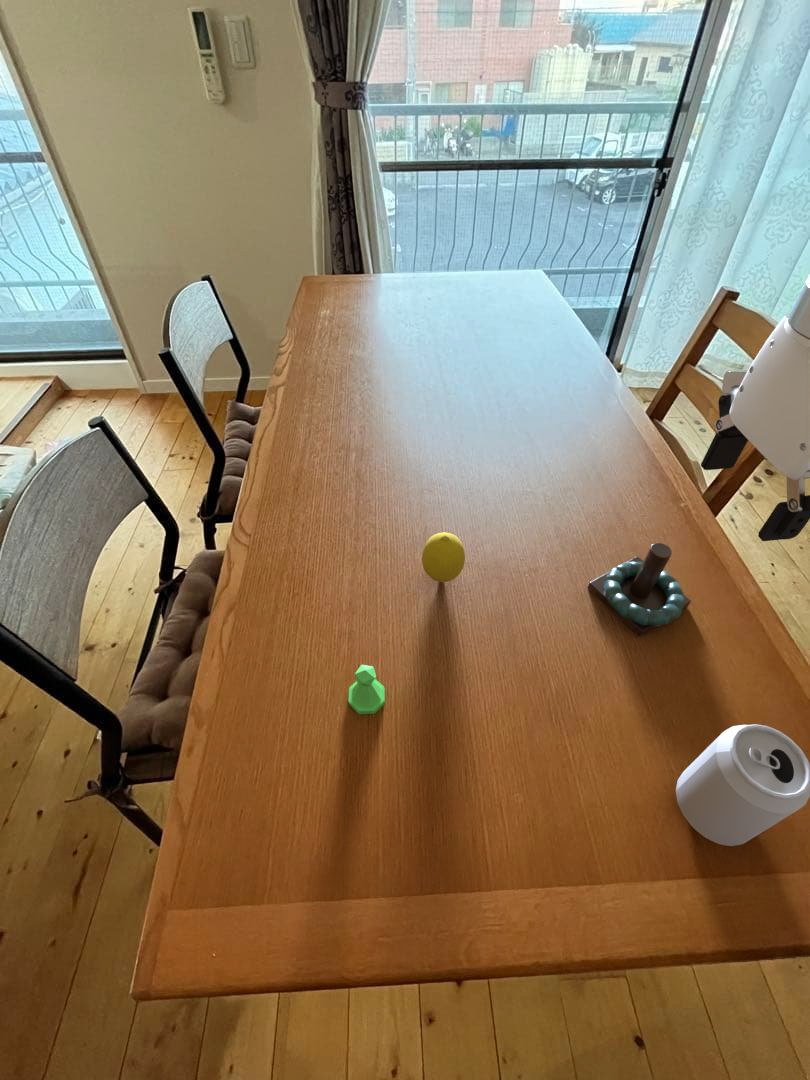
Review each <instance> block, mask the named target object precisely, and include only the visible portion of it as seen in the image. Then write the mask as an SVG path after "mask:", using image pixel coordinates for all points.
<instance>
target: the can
mask: <svg viewBox="0 0 810 1080" xmlns="http://www.w3.org/2000/svg"><path fill="white" fill-rule="evenodd" d="M809 761H810V760H809V759H808V758H807V756H806V754H805V753H804V751H803V750H802V749H801V748H800V746H798V745H797V743H795V742H794V741H793V739H792V738H790V737H789V736H787V735H786V734H784V733H783V732H781V731H780V730H777V729H775V728H773V727H770V726H768V725H763V724H762V725H761V724H756V723H754V724H740V725H739V724H738V725H732V726H731V727H729V728H727V729H726V730H724V731H722V732H721V733H720V735H719V736H717V738H715V740H713V741H712V742H711V743H710V744H709V745H708V746H707V747H706V748H705V749H704V750H703V751H702V752H701V753H700V754H699V756H698V757H696V758H695V759H694V760H693V761H692V762H690V765H688V766H687V767H686V768H685V769H684V770H683V771H682V773H681V774H680V776H679V778H678V779H677V780H676V781H677V782H676V787H675V794H676V795H675V796H676V801H677V805H678V807H679V810H680V812H681V813H682V816H683V817H684V819H685V821H687V822H688V824H689V825H690V826H691V827H692V829H694V830H695V831H696V832H697V833H699V834H700V835H701V836H702V837H704V838H705V839H706V840H708V841H711V842H713V843H715V844H717V845H722V846H728V847H734V846H741V845H744V844H745V843H747V842H749V841H750V840H753V838H755V837H757V836H759V835H760V834H762V833H763V832H765V831H767V830H768V829H770V828H772V827H773V826H775V825H776V824H778V823H780V822H781V821H783V820H784V819H786V818H788V817H789V816H791V815H793V814H795V813H796V812H798V811H799V810H800V809H802V808H803V807H805V806H806V805H807V803H808V801H809V799H810V762H809Z"/></svg>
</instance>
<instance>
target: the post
mask: <svg viewBox="0 0 810 1080" xmlns="http://www.w3.org/2000/svg"><path fill="white" fill-rule="evenodd" d="M671 557H672V549H671V548H670V547H669V546H668V545H667V544H665V543H662V542H655V543H652V544H651V545H650V547H649V549H648V552H647V554H646V555H645V558H644V559H642V558H640V557H639V556H638V555H637V556H634V557H633V558H631V559H629V560H627V561H626V562H643V564H642V566H641V568H640V570H639V572H638V574H637V576H636V577H629V578H627V579H625V580H623V582H622V584H621V589H622V592H623V595H624V596H626V597H627V598H628V599H629V600H630V601H631V602H632V603H633V604H635V605H638V606H640V607H643V608H645V609H659V608H661V607H663V606H665V604H666V601H667V598H666V595H665V593H664V590H662V589H661V588H660V587H659V586H658V585H657V584H656V582H657V580H658V578H659V577H660V575H661V573H662V571H663V569H664V570H665V568H666V565H667V564H668V562H669V560H670V558H671ZM608 573H609V571H607V572H606V573H603V574H602V575H601V576H599V577H596V578H595V579H593V580H591V581H590V582H589V583H588V584H587V589H588V590H589V591H590V592H591V593H592V594H593V595H594V596H595V597H596V598H597V599H598V600H600V601H601V602H602V604H603V605H605V606H606V607H607V608H608V609H609V610H610V611H611V612H612V613H613V614H614V615H615V616H617V618H619V620H621V621H622V622H623V623H624V624H625V625H626V626H627V627H628V628H629V629H630V630H631V631H632V632H634V633H635V634H636V635H637V636H638V637H639V638H641V637H642V636H644V635H645V634H647V633H649V632H650V631H651V630H653V629H655V628H656V627H657V626H654V625H641V624H639V623H636V622H634V621H631V620H629V619H627V618H624V617H623V616H621V615H620V614H619V613H618V612H617V611H616V610H615V609H614V608H613V607H612V606H611V605H610V604H609V602H608V600H607V596H606V593H605V590H604V582H605V580H606V577H607V575H608ZM684 596H685V604H684V607H683V610H685V609H686V608H688V607H689V606H690V604H691V602H692V601H691V599H689V598H688V597H687V596H686V595H685V594H684Z"/></svg>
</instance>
